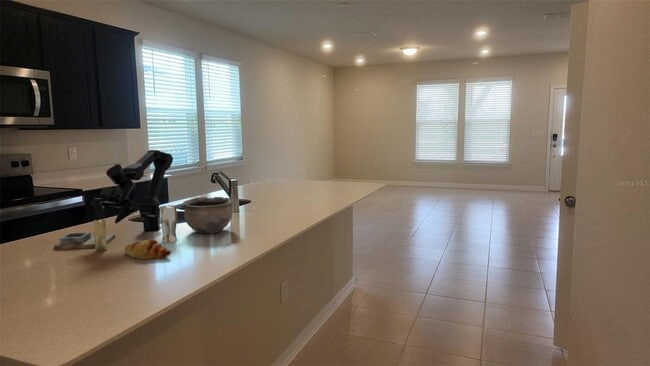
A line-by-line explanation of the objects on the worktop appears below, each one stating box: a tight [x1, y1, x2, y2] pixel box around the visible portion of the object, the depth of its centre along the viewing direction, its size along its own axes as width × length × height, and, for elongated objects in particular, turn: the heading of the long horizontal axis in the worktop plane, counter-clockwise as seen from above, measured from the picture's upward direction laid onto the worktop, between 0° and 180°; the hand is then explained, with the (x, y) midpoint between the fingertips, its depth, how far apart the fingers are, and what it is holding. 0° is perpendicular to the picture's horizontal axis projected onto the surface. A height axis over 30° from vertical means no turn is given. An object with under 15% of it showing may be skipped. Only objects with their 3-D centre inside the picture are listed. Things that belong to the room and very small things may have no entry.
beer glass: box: [159, 205, 178, 244], centre depth 177 cm, size 7×7×15 cm
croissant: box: [124, 238, 171, 260], centre depth 158 cm, size 21×10×8 cm, turn 72°
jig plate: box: [53, 231, 116, 250], centre depth 175 cm, size 18×16×4 cm
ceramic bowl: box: [182, 196, 233, 234], centre depth 194 cm, size 22×22×15 cm
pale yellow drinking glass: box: [93, 219, 108, 253], centre depth 164 cm, size 4×4×12 cm
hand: (105, 222), depth 167 cm, fingers open, 9 cm apart
